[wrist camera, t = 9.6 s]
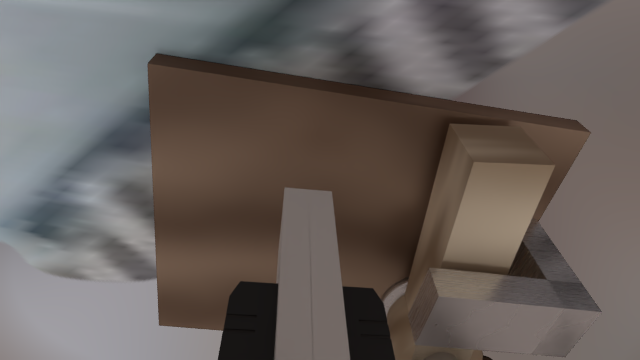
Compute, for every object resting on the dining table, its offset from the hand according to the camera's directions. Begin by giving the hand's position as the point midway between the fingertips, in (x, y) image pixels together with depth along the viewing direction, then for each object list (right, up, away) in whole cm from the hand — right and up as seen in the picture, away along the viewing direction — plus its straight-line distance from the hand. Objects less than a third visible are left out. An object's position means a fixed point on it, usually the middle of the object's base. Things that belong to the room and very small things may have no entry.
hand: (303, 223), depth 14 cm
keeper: (+7, -4, +10) cm, 13 cm away
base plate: (+2, -1, +9) cm, 9 cm away
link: (+7, -2, +8) cm, 10 cm away
